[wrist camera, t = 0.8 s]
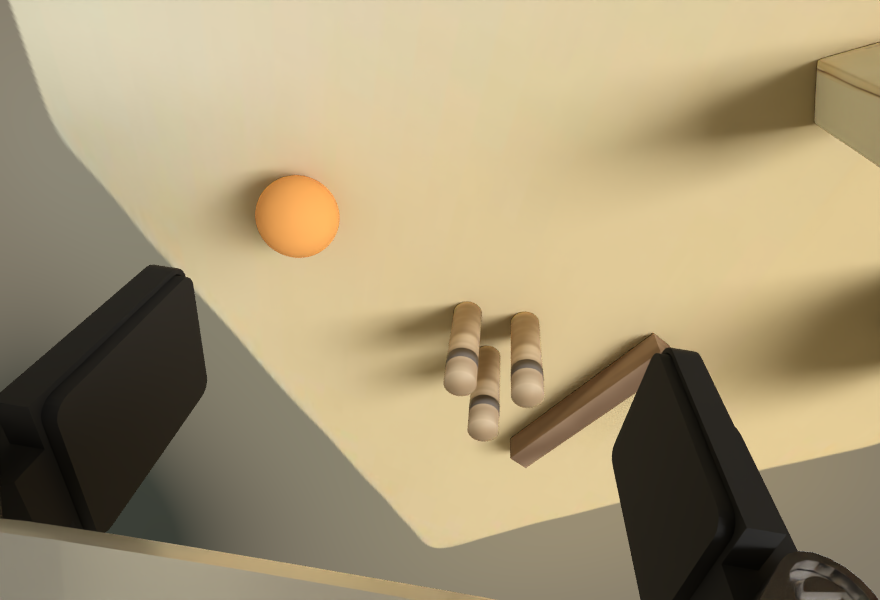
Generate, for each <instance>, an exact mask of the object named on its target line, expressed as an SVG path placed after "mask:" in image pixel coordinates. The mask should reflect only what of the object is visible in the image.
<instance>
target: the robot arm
mask: <svg viewBox="0 0 880 600" xmlns="http://www.w3.org/2000/svg"><path fill="white" fill-rule="evenodd" d="M206 383H207V375H206V368H205V361H204V355H203V348H202V342H201V334H200V328H199V321H198V314H197V307H196V301H195V294H194V287H193V282H192V280H191V279H190V278H188V277H185V274H184V272H183V271H182V270H181V269H177V268H171V267H165V266H159V265H149V266H147V267H146V268H145V269H143V270H142V271H141V272H140V273H139V274H138V275H137V276H136V277H134V278H133V279H132V280H131V281H130V282H128V283H127V284H126V285H125V286H124V287H123V288H121V289H120V290H119V291H118V292H117V293H116V294H114V295H113V296H112V297H111V298H110V299H109V300H108V301H106V302H105V303H104V304H103V305H102V306H101V307H99V308H98V309H97V310H96V311H95V312H93V313H92V314H91V315H90V316H89V317H88V318H86V319H85V320H84V321H83V322H82V323H81V324H80V325H78V326H77V327H76V328H75V329H74V330H73V331H71V332H70V333H69V334H68V335H67V336H66V337H64V338H63V339H62V340H61V341H60V342H58V343H57V344H56V345H55V346H54V347H53V348H51V350H49V351H48V352H47V353H46V354H45V355H43V356H42V357H41V358H40V359H39V360H38V361H36V362H35V363H34V364H33V365H32V366H31V367H29V368H28V369H27V370H26V371H25V372H24V373H22V374H21V375H20V376H19V377H18V378H17V379H15V381H13V382H12V383H11V384H10V385H8V386H7V387H6V388H5V389H4V390H3V391H2V392H0V600H496V599H490V598H484V597H479V596H473V595H467V594H462V593H456V592H451V591H445V590H439V589H434V588H428V587H422V586H416V585H411V584H405V583H399V582H393V581H388V580H381V579H376V578H370V577H364V576H358V575H353V574H347V573H341V572H336V571H329V570H324V569H318V568H312V567H306V566H300V565H295V564H289V563H283V562H277V561H271V560H266V559H259V558H254V557H248V556H242V555H235V554H230V553H224V552H217V551H212V550H205V549H200V548H194V547H188V546H181V545H176V544H170V543H163V542H158V541H152V540H146V539H140V538H134V537H128V536H122V535H116V534H108V533H105V532H106V531H108V530H109V529H110V527H111V526H112V525H113V523H114V522H115V521H116V519H117V518H118V516H119V515H120V513H121V512H122V510H123V509H124V508H125V506H126V505H127V503H128V502H129V500H130V499H131V497H132V496H133V495H134V493H135V492H136V490H137V489H138V487H139V486H140V485H141V483H142V482H143V480H144V479H145V477H146V476H147V475H148V473H149V472H150V470H151V469H152V467H153V466H154V464H155V463H156V462H157V460H158V459H159V457H160V456H161V454H162V453H163V452H164V450H165V449H166V447H167V446H168V444H169V443H170V441H171V440H172V439H173V437H174V436H175V434H176V433H177V431H178V430H179V428H180V427H181V426H182V424H183V423H184V421H185V420H186V418H187V417H188V416H189V414H190V413H191V411H192V410H193V408H194V407H195V405H196V404H197V403H198V401H199V400H200V398H201V397H202V395H203V394H204V391H205V388H206ZM612 464H613V469H614V474H615V479H616V483H617V488H618V493H619V498H620V503H621V508H622V512H623V517H624V522H625V527H626V531H627V536H628V541H629V546H630V551H631V556H632V561H633V565H634V570H635V575H636V580H637V584H638V589H639V594H640V599H641V600H879V599H878V598H877V596H876V595H875V594H874V593H873V591H872V590H871V589H870V588H869V587H868V586H867V585H866V584H865V583H864V582H863V581H862V580H861V579H860V578H859V577H857V576H856V575H855V574H853V573H852V572H851V571H850V570H848V569H847V568H846V567H844V566H842V565H841V564H839V563H837V562H835V561H834V560H832V559H830V558H828V557H825V556H822V555H819V554H816V553H813V552H805V551H797V549H796V547H795V545H794V543H793V541H792V539H791V536H790V534H789V532H788V530H787V528H786V526H785V524H784V522H783V520H782V518H781V516H780V514H779V512H778V510H777V508H776V506H775V504H774V502H773V500H772V497H771V495H770V494H769V491H768V489H767V487H766V485H765V483H764V481H763V479H762V477H761V475H760V473H759V471H758V469H757V467H756V465H755V463H754V461H753V459H752V457H751V455H750V452H749V450H748V448H747V446H746V444H745V442H744V440H743V438H742V436H741V434H740V433H739V431H738V430H737V428H736V427H735V426H734V424H733V422H732V420H731V418H730V416H729V414H728V412H727V410H726V408H725V406H724V404H723V401H722V399H721V397H720V395H719V393H718V391H717V389H716V387H715V385H714V383H713V381H712V379H711V377H710V375H709V373H708V371H707V368H706V366H705V364H704V362H703V360H702V358H701V356H700V355H699V353H697V352H694V351H688V350H681V349H675V348H669V347H668V348H665V349H664V350H663V352H662V353H661V354H660V353H655V354H654V355H653V356H652V358H651V360H650V362H649V365H648V367H647V369H646V372H645V374H644V376H643V379H642V381H641V383H640V386H639V388H638V390H637V393H636V395H635V397H634V400H633V402H632V404H631V407H630V409H629V411H628V414H627V416H626V418H625V421H624V423H623V425H622V428H621V430H620V432H619V435H618V437H617V439H616V442H615V444H614V447H613V451H612Z"/></svg>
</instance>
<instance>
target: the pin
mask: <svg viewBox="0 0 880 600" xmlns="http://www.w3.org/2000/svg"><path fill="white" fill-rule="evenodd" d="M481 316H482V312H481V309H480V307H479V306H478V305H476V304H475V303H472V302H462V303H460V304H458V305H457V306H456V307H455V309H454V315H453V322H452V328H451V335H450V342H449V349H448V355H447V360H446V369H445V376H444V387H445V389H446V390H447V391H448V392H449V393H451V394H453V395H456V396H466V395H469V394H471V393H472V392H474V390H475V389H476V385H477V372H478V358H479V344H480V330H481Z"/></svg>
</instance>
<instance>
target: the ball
mask: <svg viewBox="0 0 880 600" xmlns="http://www.w3.org/2000/svg"><path fill="white" fill-rule="evenodd" d="M255 219H256V225H257V228H258V231H259V233H260V235H261V237H262V238H263V240H264V241H265V242H266V243H267V244H268V245H269V246H270V247H271V248H272V249H274V250H275V251H277V252H278V253H280V254H283V255H286V256H289V257H295V258H302V257H309V256H312V255H315V254H317V253H319V252H321V251H322V250H324V249H325V248H326V247H327V246H328V245H329V244H330V243H331V242H332V240H333V239H334V237H335V235H336V233H337V230H338V227H339V210H338V206H337V203H336V201H335V199H334V197H333V195H332V194H331V193H330V191H329V190H328V189H327V188H326V187H325V186H324V185H322V184H321V183H320V182H318V181H316V180H314V179H312V178H309V177H305V176H299V175H292V176H286V177H282V178H280V179H278V180H276V181H274V182H272V183H271V184H270V185H268V186H267V187H266V188H265V190H264V191H263V192H262V194H261V195H260V197H259V199H258V202H257V205H256V211H255Z"/></svg>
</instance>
